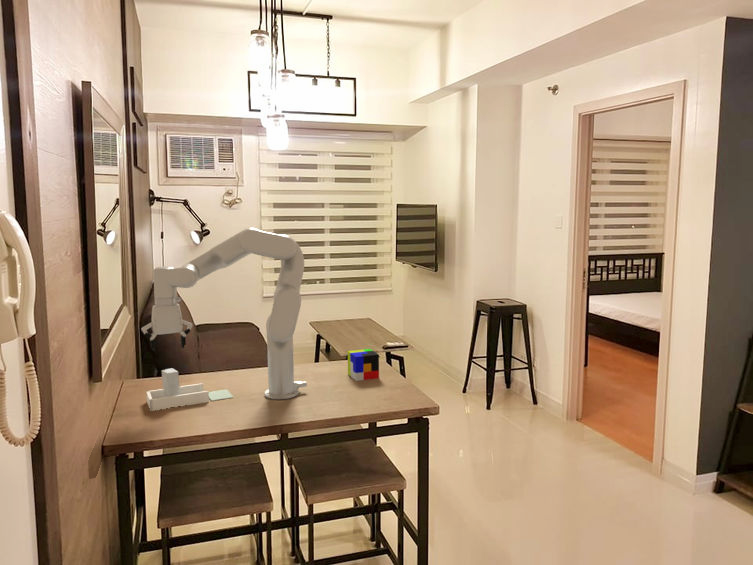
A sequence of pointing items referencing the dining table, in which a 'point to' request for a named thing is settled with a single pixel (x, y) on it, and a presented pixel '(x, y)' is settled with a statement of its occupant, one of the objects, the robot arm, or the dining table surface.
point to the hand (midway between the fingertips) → (168, 348)
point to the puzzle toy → (363, 364)
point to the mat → (220, 395)
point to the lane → (177, 397)
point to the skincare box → (170, 382)
